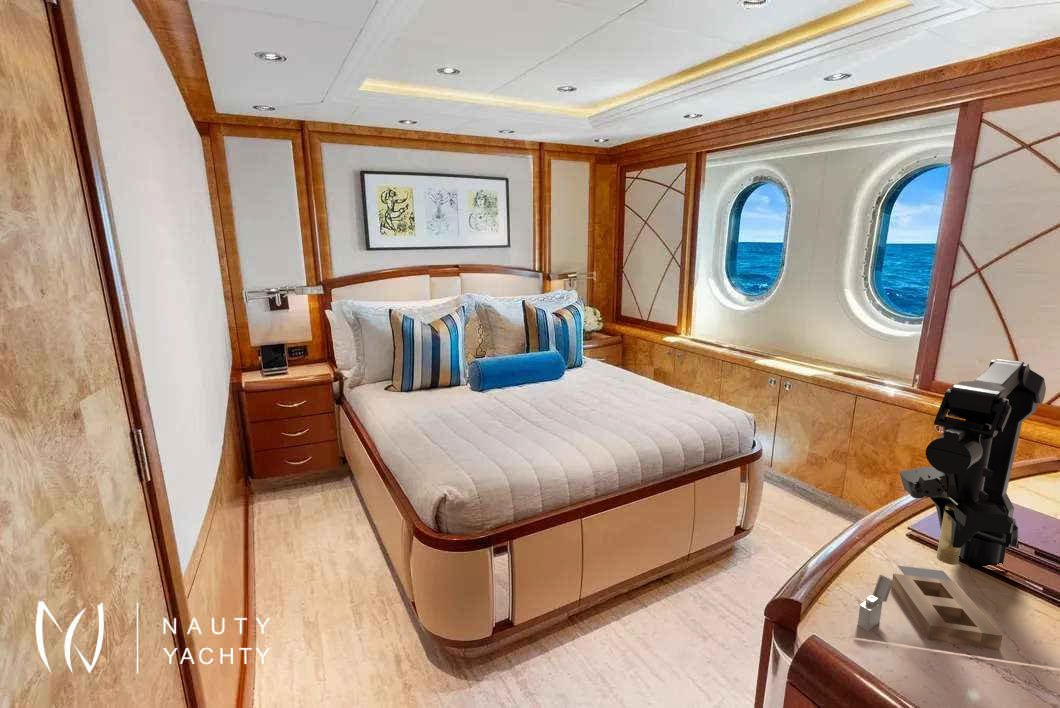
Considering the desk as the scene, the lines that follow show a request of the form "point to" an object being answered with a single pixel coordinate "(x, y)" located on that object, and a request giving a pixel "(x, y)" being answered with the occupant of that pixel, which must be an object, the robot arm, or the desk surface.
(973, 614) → the hole block
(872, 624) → the lighter
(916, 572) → the mat
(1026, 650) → the desk surface
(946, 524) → the peg
